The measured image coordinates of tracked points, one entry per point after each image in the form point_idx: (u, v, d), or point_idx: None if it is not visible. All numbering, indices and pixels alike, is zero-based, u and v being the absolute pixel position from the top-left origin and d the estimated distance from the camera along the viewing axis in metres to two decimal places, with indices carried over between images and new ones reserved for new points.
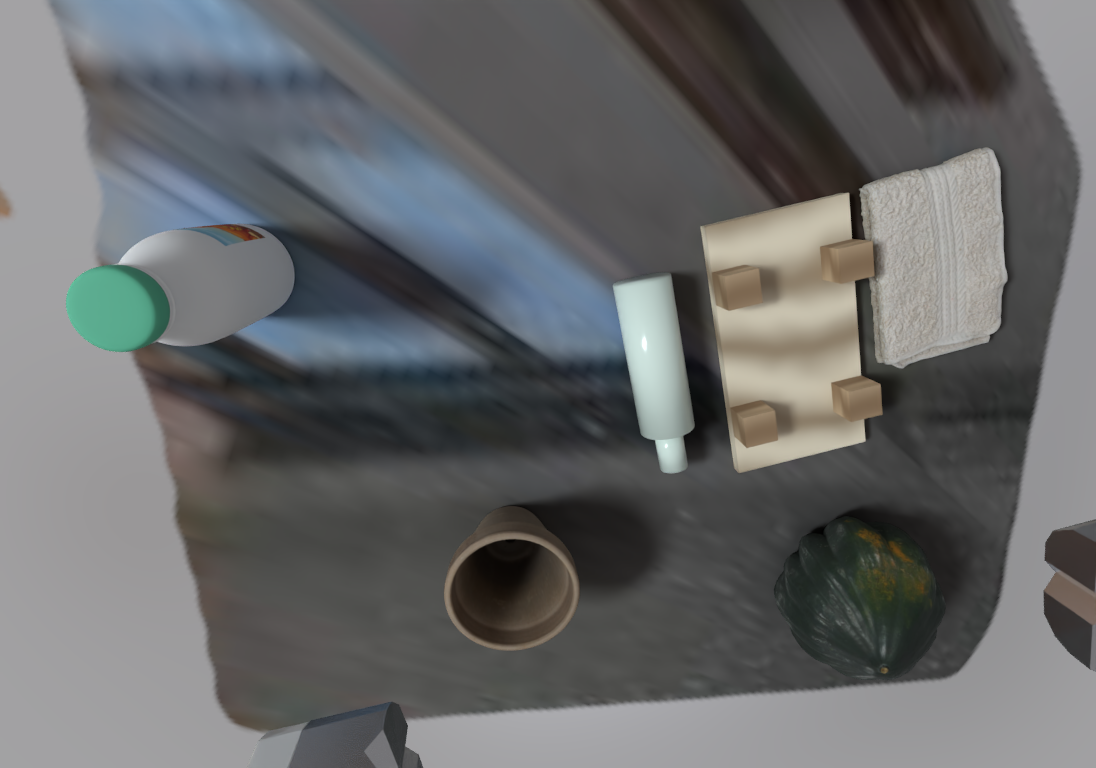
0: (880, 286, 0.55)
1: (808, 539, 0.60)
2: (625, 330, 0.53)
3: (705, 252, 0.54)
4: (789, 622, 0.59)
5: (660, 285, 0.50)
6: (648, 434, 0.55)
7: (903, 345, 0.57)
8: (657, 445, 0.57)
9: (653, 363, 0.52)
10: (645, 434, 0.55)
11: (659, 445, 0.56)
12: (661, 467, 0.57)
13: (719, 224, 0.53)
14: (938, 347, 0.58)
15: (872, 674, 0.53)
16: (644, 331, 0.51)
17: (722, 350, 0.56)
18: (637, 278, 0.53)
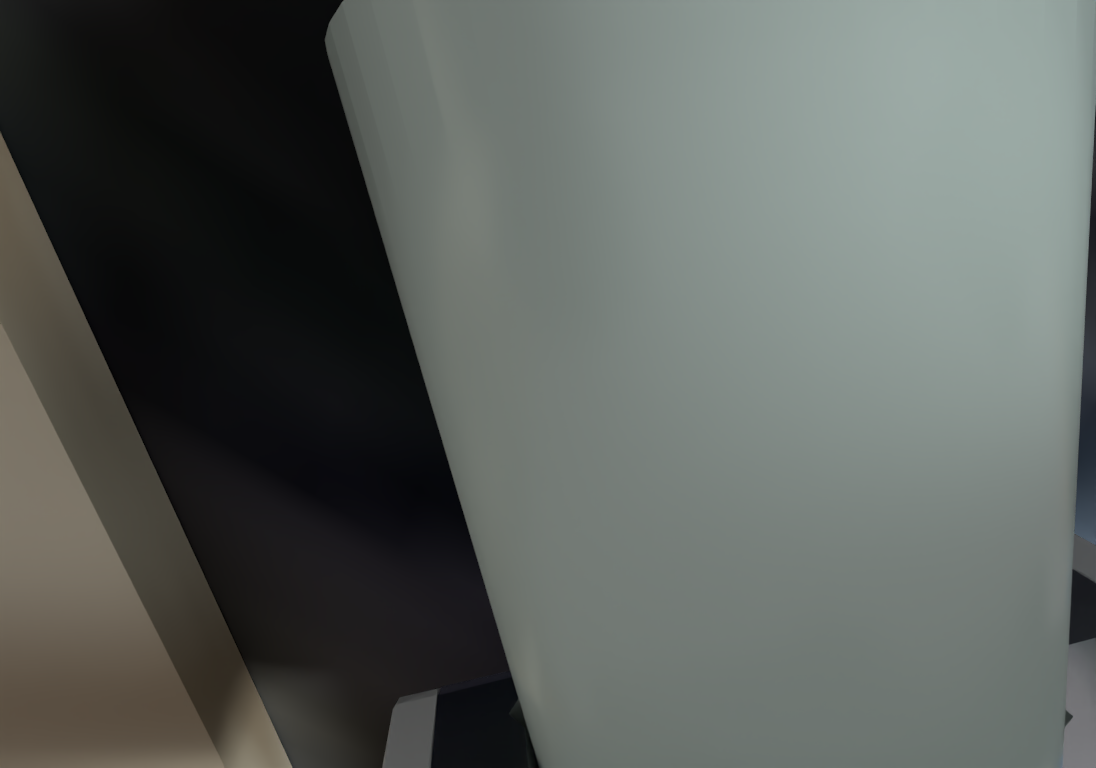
0: None
1: None
2: None
3: None
4: None
5: None
6: None
7: None
8: None
9: None
10: None
11: None
12: None
13: None
14: None
15: None
16: None
17: (180, 675, 0.07)
18: None
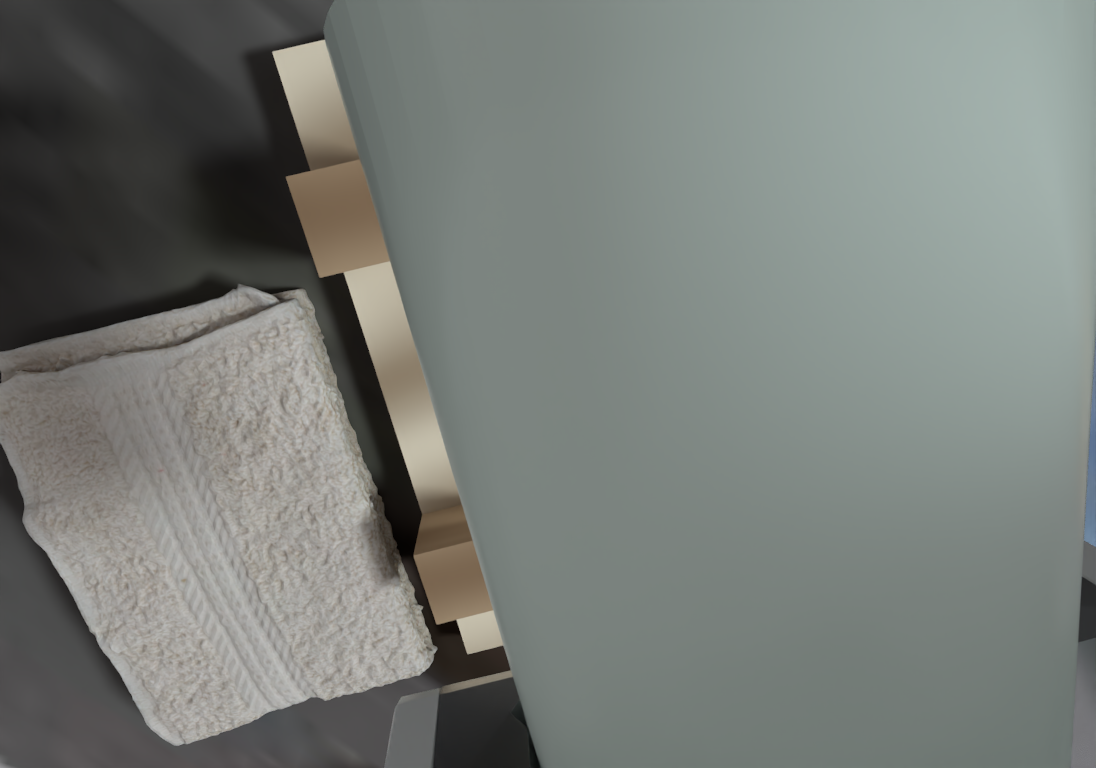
0: (362, 492, 0.23)
1: None
2: None
3: None
4: None
5: None
6: None
7: (266, 358, 0.21)
8: None
9: None
10: None
11: None
12: None
13: None
14: (149, 341, 0.21)
15: None
16: None
17: None
18: None
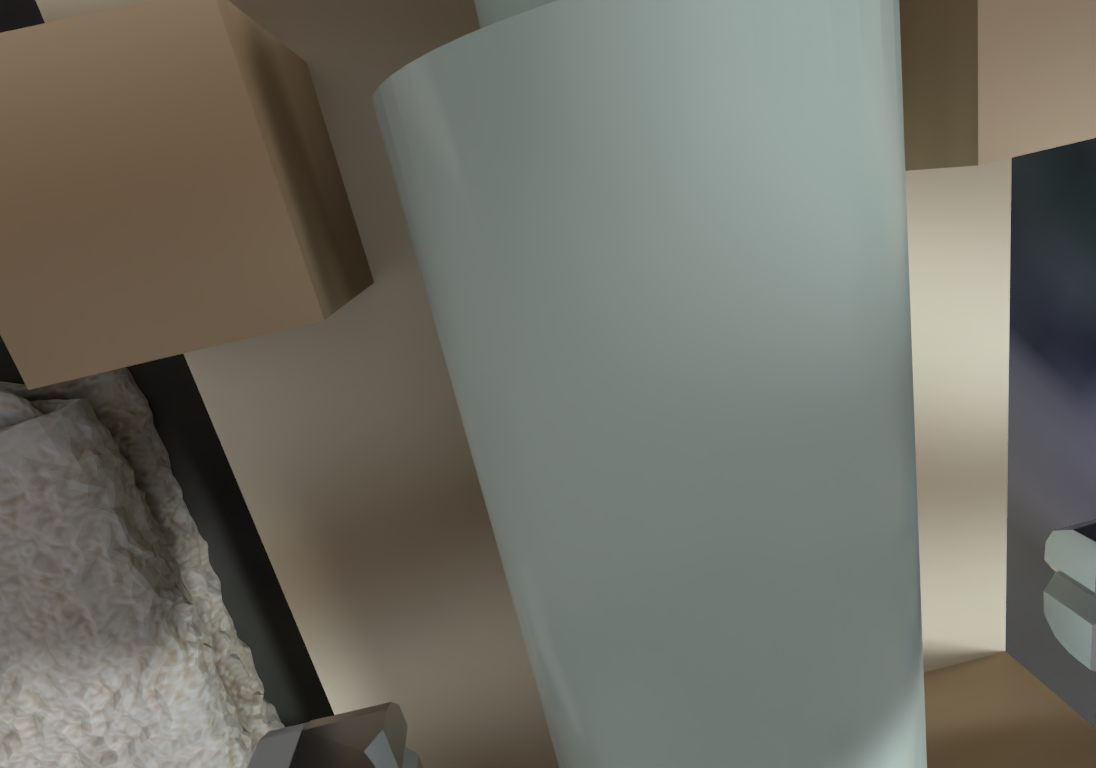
0: None
1: None
2: None
3: None
4: None
5: None
6: (899, 19, 0.05)
7: None
8: None
9: (866, 760, 0.06)
10: None
11: None
12: None
13: None
14: None
15: None
16: None
17: (1001, 460, 0.11)
18: None
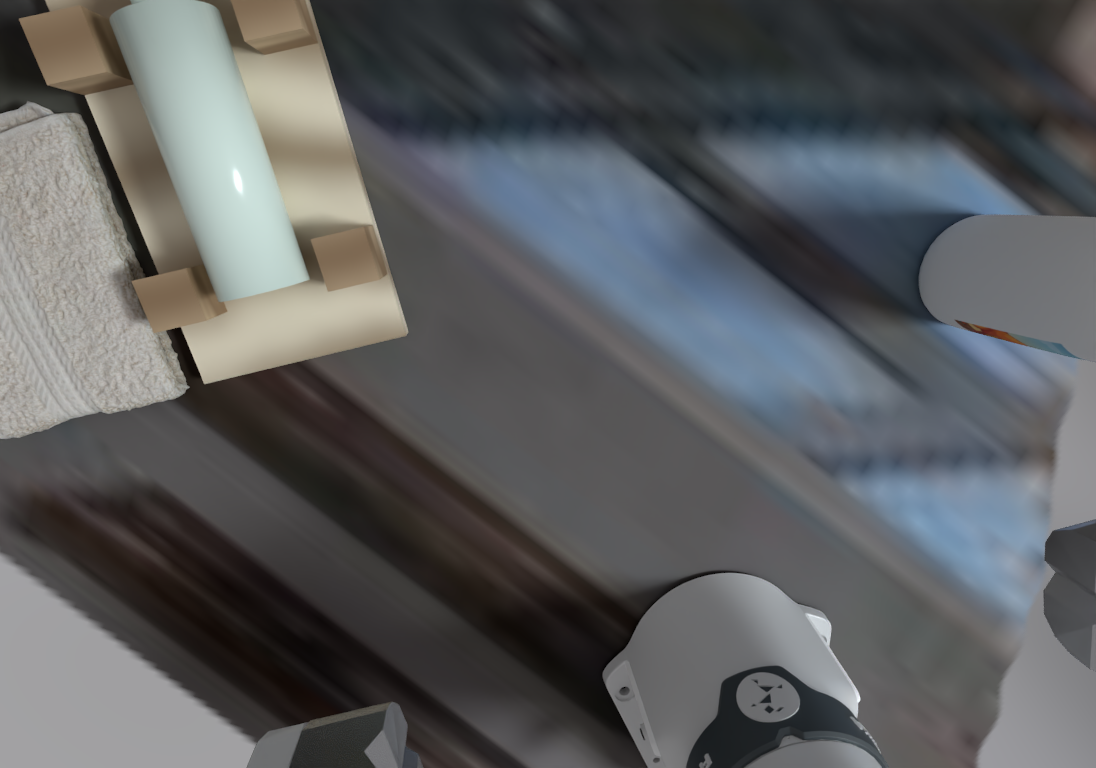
0: (118, 253, 0.35)
1: None
2: (277, 214, 0.33)
3: (397, 298, 0.39)
4: None
5: (230, 292, 0.32)
6: (199, 10, 0.30)
7: (44, 149, 0.33)
8: None
9: (216, 159, 0.31)
10: (206, 10, 0.30)
11: None
12: None
13: (386, 339, 0.39)
14: None
15: None
16: (243, 217, 0.32)
17: (349, 150, 0.36)
18: None
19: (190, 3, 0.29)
